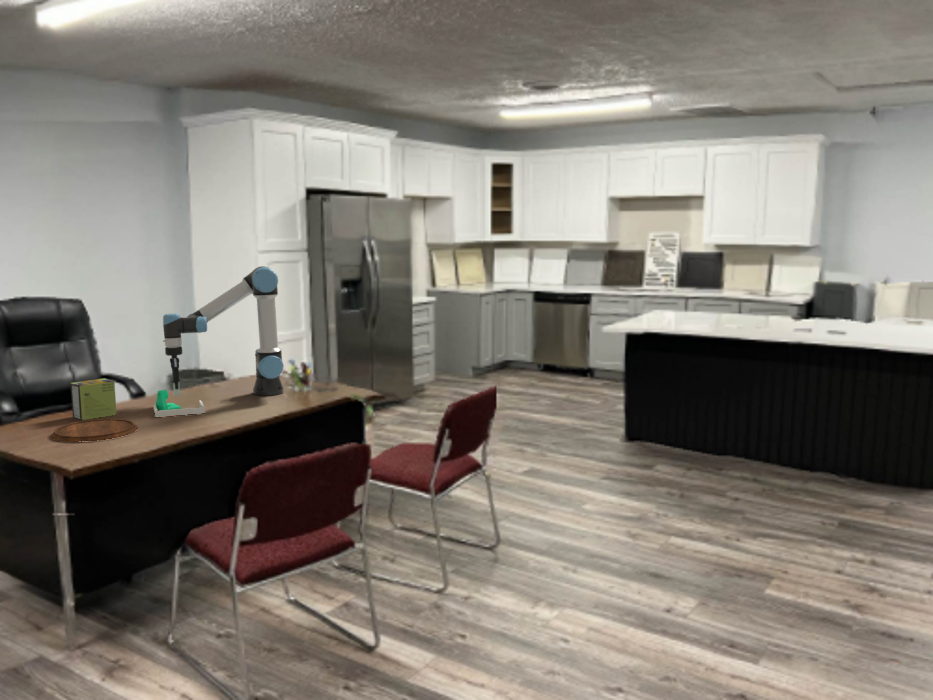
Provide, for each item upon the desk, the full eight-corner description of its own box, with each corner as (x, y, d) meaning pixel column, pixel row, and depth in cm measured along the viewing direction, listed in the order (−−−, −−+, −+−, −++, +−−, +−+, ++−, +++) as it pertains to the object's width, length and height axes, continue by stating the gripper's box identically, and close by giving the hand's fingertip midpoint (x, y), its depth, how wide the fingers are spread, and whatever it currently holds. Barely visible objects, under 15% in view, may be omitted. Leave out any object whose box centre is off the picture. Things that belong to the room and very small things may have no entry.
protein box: (117, 414, 349) (115, 381, 347) (81, 420, 338) (79, 385, 335) (107, 411, 356) (104, 378, 354) (72, 417, 345) (69, 382, 342)
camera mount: (181, 412, 355) (180, 390, 353) (164, 415, 350) (163, 392, 348) (172, 408, 364) (171, 386, 362) (155, 410, 359) (154, 388, 357)
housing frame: (201, 406, 367) (201, 400, 366) (205, 413, 352) (204, 407, 351) (153, 410, 358) (153, 403, 358) (155, 418, 343) (154, 411, 343)
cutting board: (134, 420, 340) (134, 415, 339) (141, 438, 312) (140, 431, 311) (52, 428, 325) (51, 423, 325) (50, 447, 297) (50, 441, 297)
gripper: (164, 345, 371) (167, 393, 375) (165, 348, 359) (169, 398, 363) (180, 344, 374) (184, 392, 378) (183, 347, 362) (186, 397, 366)
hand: (177, 395), depth 370 cm, fingers closed
